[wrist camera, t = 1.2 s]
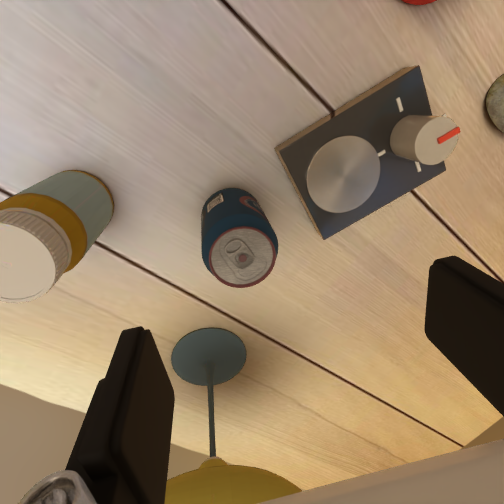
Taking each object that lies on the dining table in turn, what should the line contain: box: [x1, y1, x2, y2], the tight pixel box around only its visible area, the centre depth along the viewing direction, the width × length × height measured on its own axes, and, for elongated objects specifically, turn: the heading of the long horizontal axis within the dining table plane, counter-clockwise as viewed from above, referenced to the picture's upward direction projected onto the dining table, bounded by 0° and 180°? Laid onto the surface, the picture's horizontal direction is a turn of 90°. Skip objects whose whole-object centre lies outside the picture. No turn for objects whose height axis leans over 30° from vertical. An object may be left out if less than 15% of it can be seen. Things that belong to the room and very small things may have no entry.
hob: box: [274, 65, 447, 240], centre depth 36 cm, size 17×12×3 cm
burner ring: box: [306, 135, 380, 213], centre depth 35 cm, size 8×8×1 cm
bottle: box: [0, 170, 114, 303], centre depth 28 cm, size 7×7×15 cm
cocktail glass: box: [165, 328, 302, 504], centre depth 35 cm, size 18×18×25 cm
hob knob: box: [390, 115, 460, 165], centre depth 32 cm, size 4×4×5 cm
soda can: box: [201, 188, 278, 288], centre depth 32 cm, size 7×7×12 cm
